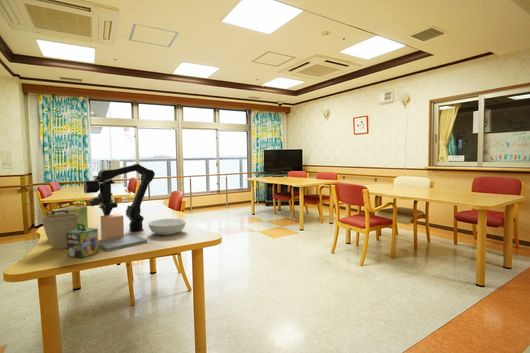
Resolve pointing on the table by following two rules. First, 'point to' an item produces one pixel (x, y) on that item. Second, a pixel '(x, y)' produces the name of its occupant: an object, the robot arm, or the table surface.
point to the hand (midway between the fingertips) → (106, 218)
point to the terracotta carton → (112, 226)
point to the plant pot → (59, 228)
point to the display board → (121, 242)
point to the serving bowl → (166, 226)
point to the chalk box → (82, 242)
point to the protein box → (78, 210)
